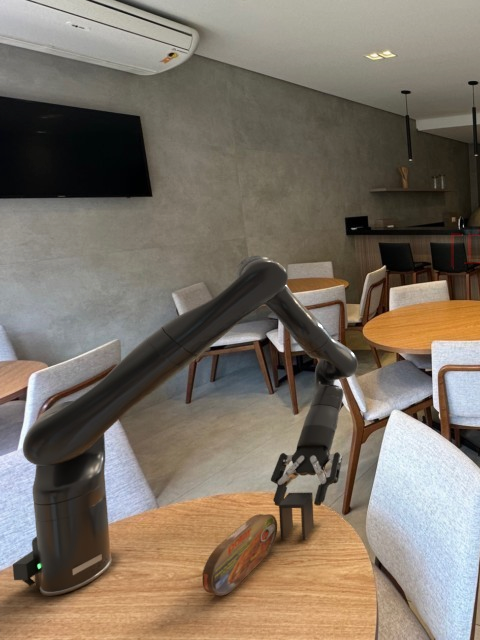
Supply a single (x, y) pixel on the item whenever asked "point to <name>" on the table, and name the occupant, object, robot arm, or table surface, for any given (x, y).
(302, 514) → the dark grey stool
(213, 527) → the table surface
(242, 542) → the tin
